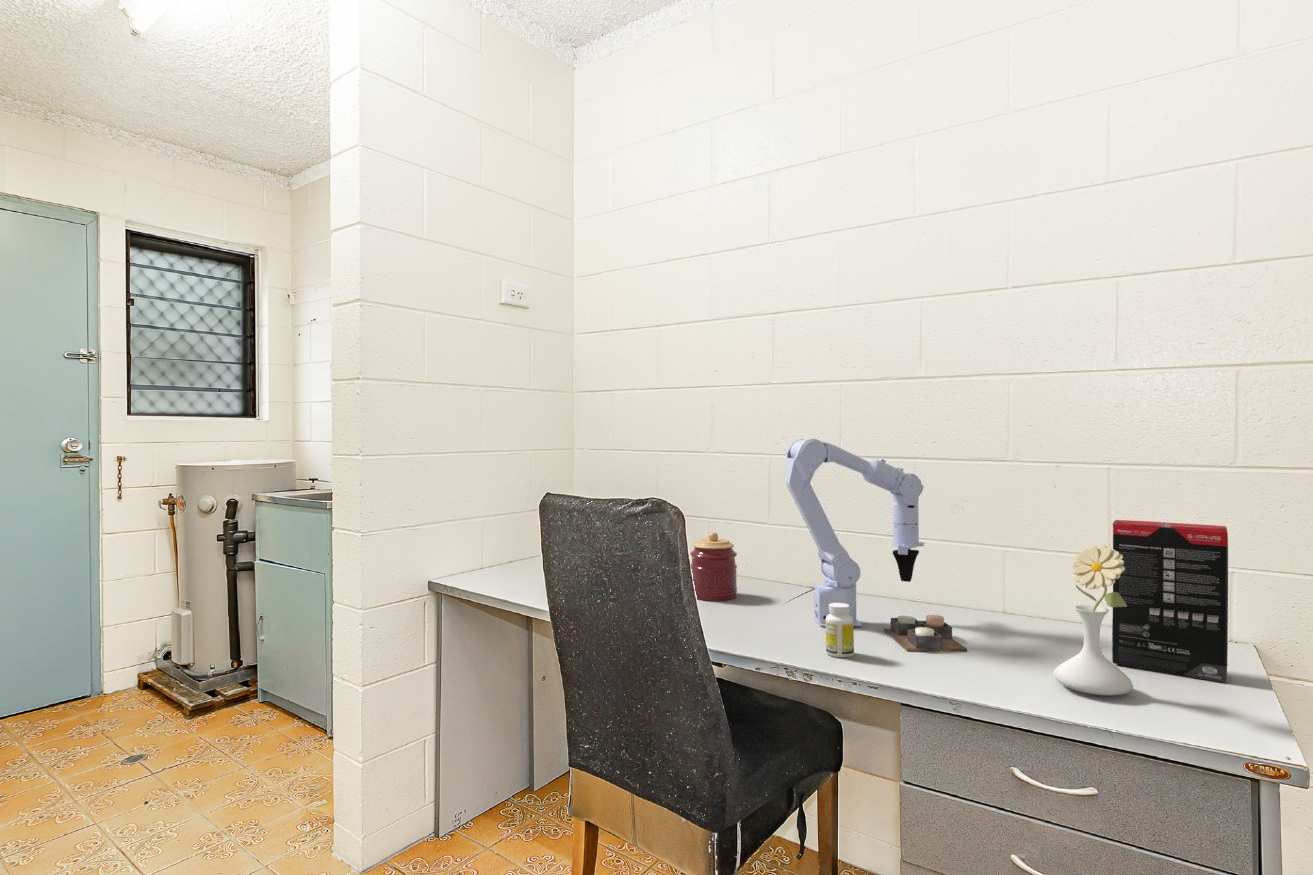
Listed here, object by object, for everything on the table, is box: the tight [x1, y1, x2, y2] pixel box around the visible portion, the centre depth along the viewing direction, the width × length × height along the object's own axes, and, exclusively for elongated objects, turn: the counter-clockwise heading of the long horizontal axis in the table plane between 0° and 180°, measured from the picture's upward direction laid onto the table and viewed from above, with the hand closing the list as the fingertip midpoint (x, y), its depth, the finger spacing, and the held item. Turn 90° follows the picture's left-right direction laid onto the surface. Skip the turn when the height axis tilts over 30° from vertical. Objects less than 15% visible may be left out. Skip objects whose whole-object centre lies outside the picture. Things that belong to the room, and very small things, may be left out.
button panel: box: [883, 617, 968, 653], centre depth 145 cm, size 12×15×3 cm
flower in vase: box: [1053, 544, 1134, 697], centre depth 115 cm, size 13×11×25 cm
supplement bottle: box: [825, 603, 855, 659], centre depth 136 cm, size 5×5×10 cm
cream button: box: [915, 627, 934, 636], centre depth 140 cm, size 4×4×3 cm
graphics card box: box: [1111, 519, 1229, 683], centre depth 125 cm, size 17×7×27 cm, turn 53°
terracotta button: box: [925, 614, 945, 627], centre depth 147 cm, size 4×4×3 cm
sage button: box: [897, 615, 916, 624], centre depth 149 cm, size 4×4×3 cm
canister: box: [689, 531, 738, 602], centre depth 188 cm, size 13×13×18 cm
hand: (906, 581), depth 161 cm, fingers closed
